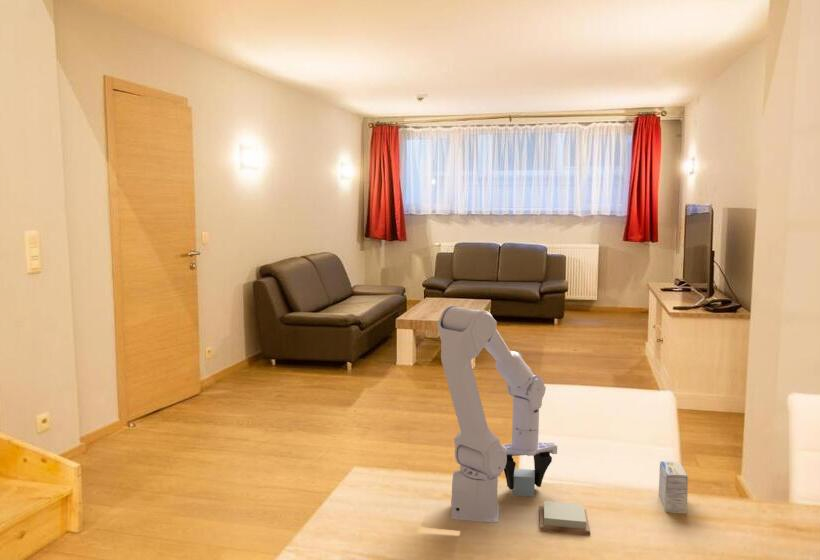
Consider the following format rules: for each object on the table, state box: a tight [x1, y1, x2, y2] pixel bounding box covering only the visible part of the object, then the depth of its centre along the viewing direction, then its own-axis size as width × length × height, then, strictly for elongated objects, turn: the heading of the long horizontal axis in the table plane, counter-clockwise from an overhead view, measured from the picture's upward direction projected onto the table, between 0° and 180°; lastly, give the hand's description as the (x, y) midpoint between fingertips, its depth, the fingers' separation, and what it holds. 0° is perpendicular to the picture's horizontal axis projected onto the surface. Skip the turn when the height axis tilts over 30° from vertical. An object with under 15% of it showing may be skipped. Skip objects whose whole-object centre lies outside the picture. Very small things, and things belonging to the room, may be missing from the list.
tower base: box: [538, 505, 591, 536], centre depth 134 cm, size 10×10×2 cm
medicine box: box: [658, 460, 689, 514], centre depth 140 cm, size 8×4×9 cm, turn 168°
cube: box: [512, 468, 536, 498], centre depth 147 cm, size 4×4×4 cm
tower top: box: [543, 500, 586, 529], centre depth 134 cm, size 8×8×2 cm
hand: (523, 486), depth 147 cm, fingers closed on cube, 6 cm apart
